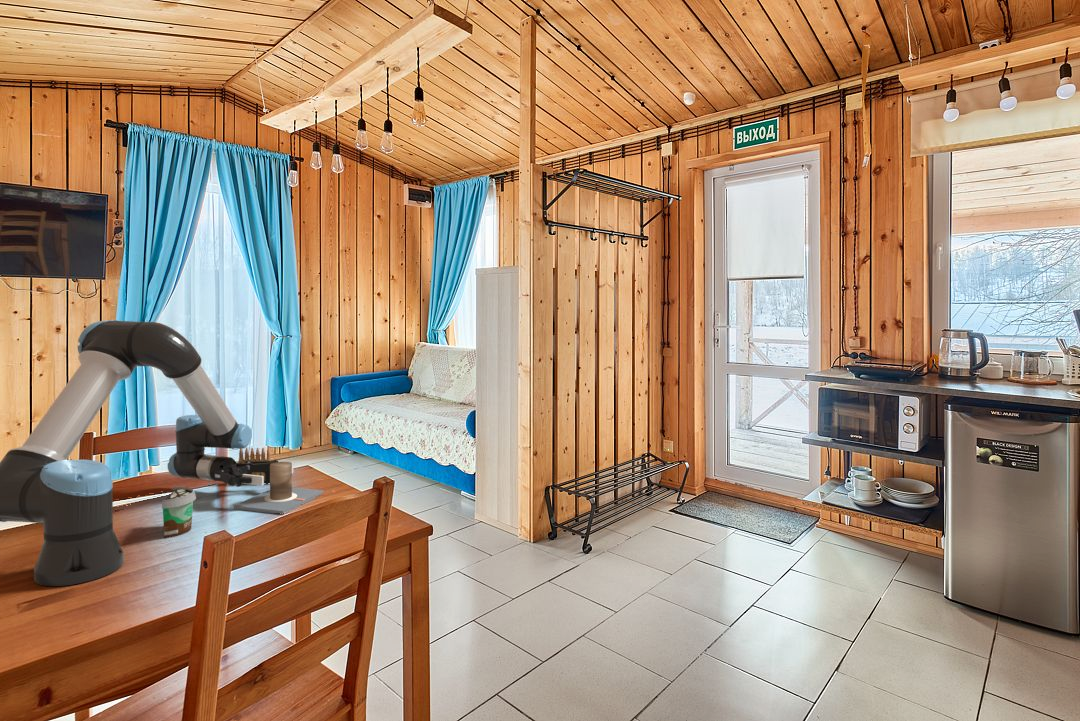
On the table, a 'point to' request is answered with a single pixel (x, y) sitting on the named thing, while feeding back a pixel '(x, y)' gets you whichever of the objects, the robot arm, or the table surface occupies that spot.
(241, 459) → the ammunition clip
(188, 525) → the food container
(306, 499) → the seat board
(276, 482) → the brown cylinder
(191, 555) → the table surface
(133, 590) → the table surface
